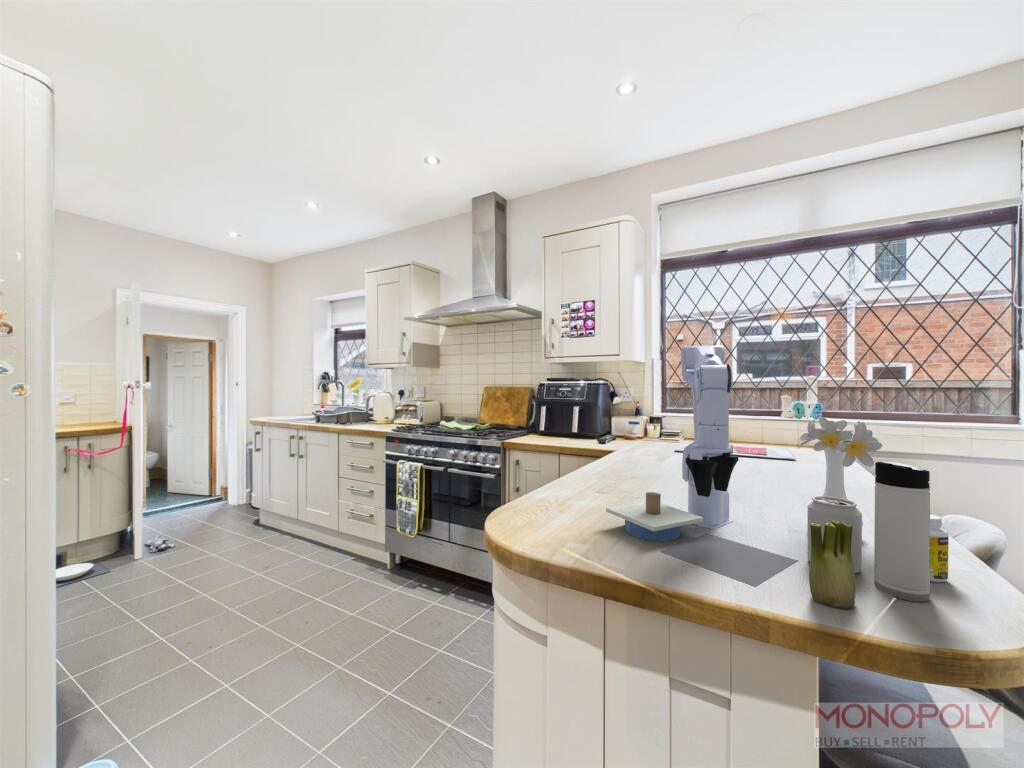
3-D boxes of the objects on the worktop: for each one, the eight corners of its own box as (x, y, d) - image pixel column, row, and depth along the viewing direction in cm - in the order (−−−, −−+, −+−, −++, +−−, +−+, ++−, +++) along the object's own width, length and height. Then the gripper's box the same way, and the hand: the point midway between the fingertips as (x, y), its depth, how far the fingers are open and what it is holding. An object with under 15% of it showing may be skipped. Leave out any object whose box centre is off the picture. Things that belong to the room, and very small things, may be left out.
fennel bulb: (810, 607, 60) (810, 523, 60) (804, 592, 64) (805, 514, 64) (861, 617, 57) (862, 530, 57) (852, 601, 61) (852, 520, 61)
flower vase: (837, 551, 80) (838, 421, 80) (782, 520, 99) (782, 415, 99) (909, 553, 79) (909, 422, 79) (840, 522, 98) (840, 416, 98)
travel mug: (861, 583, 67) (862, 459, 67) (899, 582, 67) (899, 459, 68) (901, 603, 61) (901, 466, 61) (942, 602, 61) (942, 466, 61)
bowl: (645, 522, 97) (646, 506, 97) (690, 536, 88) (690, 518, 88) (615, 531, 90) (615, 514, 90) (659, 547, 82) (659, 528, 82)
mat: (706, 535, 88) (706, 533, 88) (798, 562, 75) (798, 560, 75) (659, 553, 78) (659, 551, 78) (755, 589, 64) (755, 586, 64)
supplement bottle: (943, 587, 66) (943, 522, 66) (897, 573, 71) (897, 513, 71) (952, 578, 69) (952, 516, 69) (907, 566, 74) (907, 508, 74)
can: (870, 581, 68) (870, 507, 68) (815, 573, 70) (815, 502, 70) (850, 563, 75) (851, 496, 75) (801, 557, 77) (802, 492, 77)
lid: (652, 504, 99) (652, 483, 99) (703, 521, 86) (703, 498, 86) (606, 511, 92) (606, 490, 92) (653, 531, 80) (654, 506, 80)
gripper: (709, 422, 91) (708, 484, 90) (675, 424, 81) (674, 494, 81) (743, 424, 85) (743, 490, 85) (711, 427, 76) (711, 501, 75)
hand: (712, 493), depth 82 cm, fingers open, 7 cm apart
